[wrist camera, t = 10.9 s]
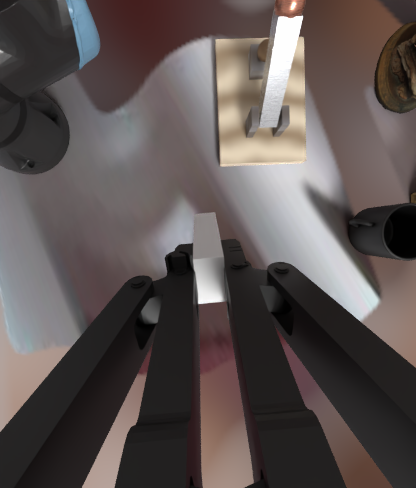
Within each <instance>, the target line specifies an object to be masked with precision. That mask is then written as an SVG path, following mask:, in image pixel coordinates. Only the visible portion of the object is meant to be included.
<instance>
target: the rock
mask: <svg viewBox="0 0 416 488" xmlns="http://www.w3.org/2000/svg"><path fill="white" fill-rule="evenodd" d="M411 203H416V192H415V193H413V194H411Z"/></svg>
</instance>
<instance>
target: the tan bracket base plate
mask: <svg viewBox="0 0 416 488" xmlns="http://www.w3.org/2000/svg"><path fill="white" fill-rule="evenodd" d="M268 43H269V38H243V39H216V43H215V57H216V82H217V107H218V131H219V156H220V166H245V165H271V164H298V163H303V162H304V161H306V128H305V76H304V37H298V40H297V44H296V48H295V52H294V57H293V61H292V65H291V69H290V73H289V78H288V82H287V86H286V90H285V94H284V99H283V103H282V107H281V111H280V115H279V119H278V124H277V127H268V128H259V106H258V105H259V99H260V92H261V86H262V80H263V74H264V68H265V61H266V55H267V49H268Z"/></svg>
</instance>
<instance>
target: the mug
mask: <svg viewBox="0 0 416 488" xmlns="http://www.w3.org/2000/svg"><path fill="white" fill-rule="evenodd" d="M349 224H350V227H349V238H350V241H351V243H352V245H353V246H354V247H355V249H356V250H358V251H359V252H361V253H363V254H365V255H371V256H379V257H385V258H391V259H398V260H407V261H410V260H415V259H416V203H404V204H396V205H390V206H381V207H374V208H368V209H365V210H362V211H361V212H359V213H358V214H357V215H356V216H355V217H354V218H353V219H352V220H350V221H349Z"/></svg>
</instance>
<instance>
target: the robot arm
mask: <svg viewBox="0 0 416 488" xmlns="http://www.w3.org/2000/svg"><path fill="white" fill-rule="evenodd" d="M99 50H100V40H99V35H98V32H97V29H96V26H95V23H94V20H93V18H92V15H91V13H90V10H89V8H88V6H87V3H86V1H85V0H0V165H1V166H2V167H4V168H6V169H9V170H12V171H15V172H18V173H22V174H39V173H43V172H45V171H48V170H50V169H51V168H53V167H54V166H56V165H57V164H58V163H59V162H60V161H61V159H62V158H63V156H64V155H65V153H66V151H67V148H68V144H69V136H70V134H69V126H68V122H67V120H66V117H65V115H64V113H63V112H62V110H61V109H60V108H59V107H58V106H57V104H55V103H54V102H53V101H52V100H51V99H50V98H49V97H47V96H46V95H45V94H43V93H42V92H40V91H41V90H42V89H44V88H46V87H48V86H50V85H51V84H53V83H55V82H57V81H59V80H60V79H62V78H64V77H66V76H68V75H69V74H71V73H73V72H75V71H77V70H80V69H81V68H82V67H83V65H84V64H86V63H87V62H89V61H90V60H92V59H93V58H95V57H96V56H97V54H98V52H99ZM165 262H166V267H167V276H166V277H164V278H162V279H159V280H156V281H153V282H152V279H151V278H150V277H149V276H137V277H133V278H131V279H129V280H128V281H127V282H126V283H125V284H124V285H123V286H122V288H121V289H120V290H119V291H118V292H117V294H116V295H115V296H114V297H113V298H112V299H111V301H110V302H109V303H108V304H107V305H106V307H105V308H104V309H103V310H102V311H101V313H100V314H99V315H98V316H97V317H96V319H95V320H94V321H93V322H92V323H91V325H90V326H89V327H88V328H87V329H86V331H85V332H84V333H83V334H82V335H81V337H80V338H79V339H78V340H77V341H76V342H75V344H74V345H73V346H72V347H71V348H70V350H69V351H68V352H67V353H66V354H65V356H64V357H63V358H62V359H61V361H60V362H59V363H58V364H57V365H56V366H55V368H54V369H53V370H52V371H51V372H50V374H49V375H48V376H47V377H46V378H45V380H44V381H43V382H42V383H41V384H40V385H39V387H38V388H37V389H36V390H35V391H34V393H33V394H32V395H31V396H30V398H29V399H28V400H27V401H26V402H25V403H24V405H23V406H22V407H21V408H20V410H19V411H18V412H17V413H16V414H15V415H14V417H13V418H12V419H11V420H10V421H9V423H8V424H7V425H6V426H5V427H4V429H3V430H2V431H1V432H0V488H82V486H83V484H84V482H85V480H86V478H87V476H88V474H89V472H90V470H91V468H92V465H93V464H94V462H95V459H96V457H97V455H98V453H99V451H100V449H101V447H102V445H103V443H104V441H105V439H106V437H107V435H108V433H109V431H110V429H111V427H112V425H113V423H114V421H115V419H116V417H117V414H118V412H119V410H120V408H121V406H122V404H123V402H124V400H125V398H126V396H127V394H128V392H129V390H130V388H131V386H132V384H133V382H134V380H135V378H136V376H137V374H138V372H139V370H140V368H141V366H142V363H143V361H144V359H145V357H146V355H147V353H148V351H149V349H150V347H151V345H152V343H153V347H152V352H151V357H150V362H149V367H148V372H147V377H146V382H145V388H144V392H143V397H142V402H141V407H140V412H139V417H138V420H137V423H136V425H134V426H132V427H131V428H130V430H129V432H128V434H127V437H126V441H125V444H124V449H123V454H122V458H121V462H120V466H119V471H118V475H117V479H116V484H115V488H203V486H202V473H201V416H200V339H199V306H198V304H202V303H213V302H224V301H227V315H228V319H229V323H230V329H231V336H232V342H233V348H234V355H235V361H236V367H237V373H238V379H239V386H240V392H241V399H242V405H243V411H244V417H245V424H246V430H247V436H248V442H249V449H250V455H251V461H252V469H253V479H254V483H253V484H251V485H249V486H247V487H245V488H346V485H345V483H344V480H343V478H342V475H341V473H340V471H339V468H338V466H337V464H336V461H335V459H334V456H333V453H332V451H331V449H330V446H329V444H328V441H327V439H326V436H325V434H324V432H323V429H322V427H321V424H320V422H319V420H318V418H317V416H316V415H315V414H314V412H313V411H312V410H309V409H307V407H306V406H305V404H304V402H303V399H302V397H301V394H300V391H299V389H298V386H297V384H296V381H295V378H294V376H293V373H292V371H291V368H290V365H289V363H288V360H287V358H286V355H285V352H284V350H283V347H282V344H281V342H280V339H279V336H278V334H277V331H276V329H275V327H276V328H277V329H278V331H279V332H280V333H281V335H282V336H283V338H284V339H285V340H286V342H287V343H288V344H289V346H290V347H291V348H292V350H293V351H294V353H295V354H296V355H297V357H298V358H299V359H300V361H301V362H302V363H303V365H304V366H305V368H306V369H307V370H308V372H309V373H310V374H311V376H312V377H313V379H314V380H315V381H316V383H317V384H318V385H319V387H320V388H321V390H322V391H323V392H324V393H325V395H326V396H327V398H328V399H329V400H330V402H331V403H332V405H333V406H334V407H335V409H336V410H337V411H338V413H339V414H340V415H341V417H342V418H343V419H344V421H345V422H346V424H347V425H348V426H349V428H350V429H351V431H352V432H353V433H354V435H355V436H356V437H357V439H358V440H359V442H360V443H361V444H362V446H363V447H364V448H365V450H366V451H367V452H368V454H369V455H370V457H371V458H372V459H373V461H374V462H375V463H376V465H377V466H378V467H379V469H380V470H381V472H382V473H383V474H384V476H385V477H386V478H387V480H388V481H389V482H390V484H391V485H392V487H393V488H416V368H415V367H414V366H413V365H411V364H410V363H409V362H408V361H407V360H406V359H404V358H403V357H402V356H401V355H400V354H398V353H397V352H396V351H395V350H394V349H392V348H391V347H390V346H389V345H387V344H386V343H385V342H384V341H383V340H382V339H380V338H379V337H378V336H377V335H376V334H374V333H373V332H372V331H371V330H370V329H368V328H367V327H366V326H365V325H364V324H362V323H361V322H360V321H359V320H358V319H356V318H355V317H354V316H353V315H352V314H350V313H349V312H348V311H347V310H346V309H344V308H343V307H342V306H341V305H340V304H339V303H337V302H336V301H335V300H334V299H333V298H331V297H330V296H329V295H328V294H327V293H325V292H324V291H323V290H322V289H321V288H319V287H318V286H317V285H316V284H315V283H313V282H312V281H311V280H310V279H309V278H307V277H306V276H305V275H304V274H303V273H301V272H300V271H299V270H298V269H297V268H295V267H294V266H293V265H291V264H288V263H285V262H276V263H272V264H270V265H269V266H268V269H267V270H260V269H256V268H253V267H252V266H251V264H250V263H249V262H248V261H246V258H245V255H244V253H243V250H242V247H241V245H240V242H239V241H237V240H236V239H228V240H220V235H219V230H218V225H217V220H216V215H215V212H214V213H203V214H194V240H193V243H192V244H181V245H178V246H177V247H176V248H175V251H173V252H171V253H169V254H168V255H166V257H165ZM226 299H227V300H226ZM274 325H275V326H274ZM153 341H154V342H153Z"/></svg>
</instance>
